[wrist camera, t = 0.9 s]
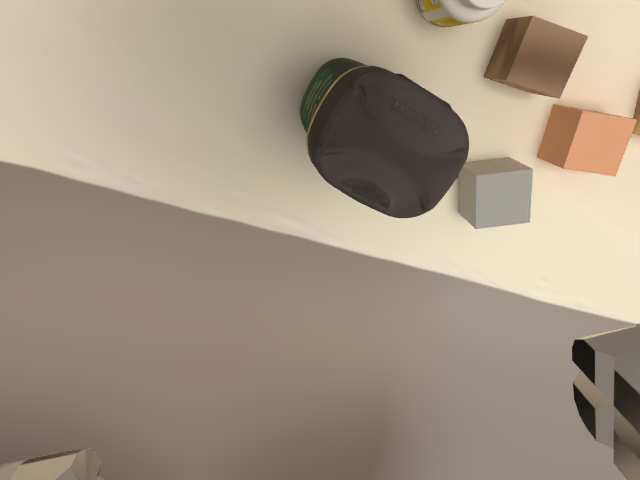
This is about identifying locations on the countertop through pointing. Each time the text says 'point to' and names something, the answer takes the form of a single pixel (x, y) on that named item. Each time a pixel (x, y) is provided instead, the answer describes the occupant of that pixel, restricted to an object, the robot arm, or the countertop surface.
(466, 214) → the grey cube
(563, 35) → the walnut cube
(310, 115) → the coffee jar
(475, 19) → the supplement bottle
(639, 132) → the oak cube
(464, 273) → the countertop surface
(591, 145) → the terracotta cube
